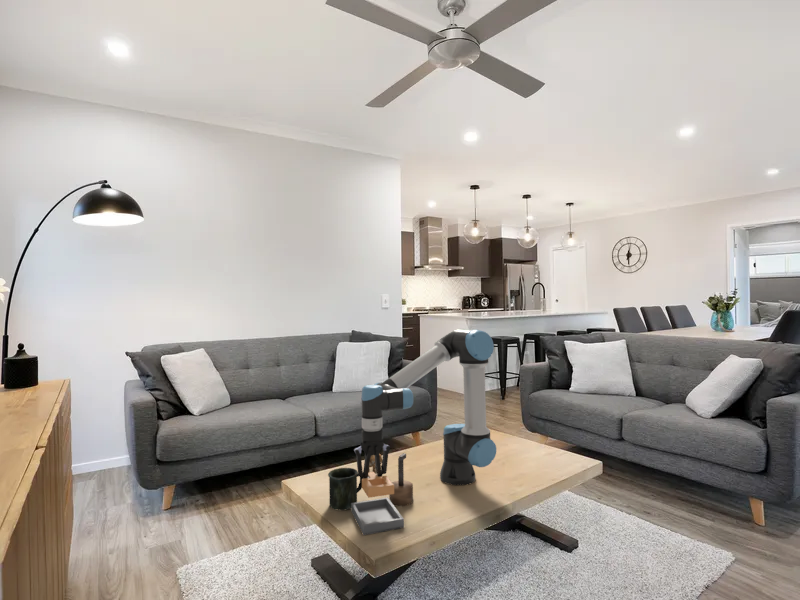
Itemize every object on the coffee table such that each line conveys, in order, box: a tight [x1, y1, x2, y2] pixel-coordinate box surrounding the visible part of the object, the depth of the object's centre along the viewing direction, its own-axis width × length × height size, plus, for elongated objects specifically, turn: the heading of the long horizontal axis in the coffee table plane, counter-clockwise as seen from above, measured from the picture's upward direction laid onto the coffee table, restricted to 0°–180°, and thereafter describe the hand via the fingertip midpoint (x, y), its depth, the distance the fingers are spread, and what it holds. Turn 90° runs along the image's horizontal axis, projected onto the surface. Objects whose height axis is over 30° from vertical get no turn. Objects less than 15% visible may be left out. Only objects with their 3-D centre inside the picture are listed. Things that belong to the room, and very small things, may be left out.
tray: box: [350, 497, 405, 536], centre depth 153 cm, size 14×18×3 cm
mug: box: [327, 467, 363, 511], centre depth 166 cm, size 11×15×12 cm
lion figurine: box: [368, 453, 383, 474], centre depth 201 cm, size 15×5×9 cm, turn 162°
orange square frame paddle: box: [361, 471, 394, 499], centre depth 154 cm, size 14×9×3 cm, turn 19°
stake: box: [388, 453, 414, 507], centre depth 168 cm, size 9×9×18 cm
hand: (372, 494), depth 158 cm, fingers closed on orange square frame paddle, 3 cm apart
